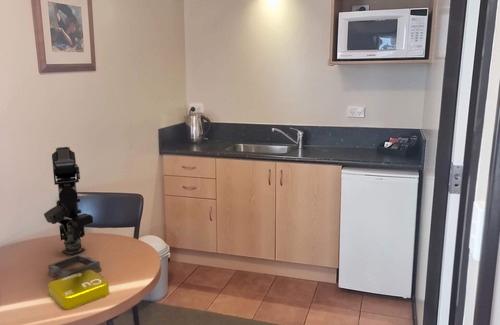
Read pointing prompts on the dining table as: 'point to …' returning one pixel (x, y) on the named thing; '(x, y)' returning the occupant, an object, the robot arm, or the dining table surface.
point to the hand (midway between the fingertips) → (72, 239)
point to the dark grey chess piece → (72, 242)
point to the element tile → (78, 289)
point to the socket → (73, 266)
